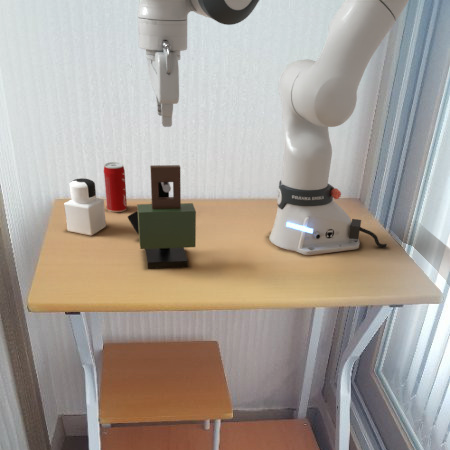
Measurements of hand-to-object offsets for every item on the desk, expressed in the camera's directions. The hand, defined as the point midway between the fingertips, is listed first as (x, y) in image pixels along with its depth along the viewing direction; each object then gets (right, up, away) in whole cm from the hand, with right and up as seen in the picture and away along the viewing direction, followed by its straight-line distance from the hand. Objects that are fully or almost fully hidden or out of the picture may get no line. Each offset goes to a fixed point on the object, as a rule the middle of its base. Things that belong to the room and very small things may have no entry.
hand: (164, 120), depth 114 cm
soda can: (-18, -2, +46) cm, 50 cm away
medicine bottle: (-23, -11, +34) cm, 43 cm away
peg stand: (-2, -22, +21) cm, 31 cm away
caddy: (-1, -20, +15) cm, 25 cm away
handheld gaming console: (-6, -13, +33) cm, 36 cm away
